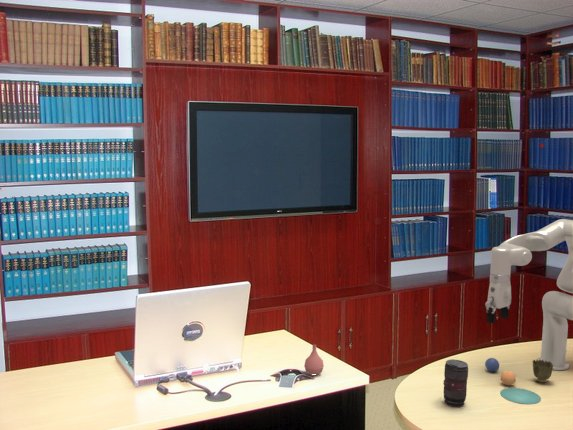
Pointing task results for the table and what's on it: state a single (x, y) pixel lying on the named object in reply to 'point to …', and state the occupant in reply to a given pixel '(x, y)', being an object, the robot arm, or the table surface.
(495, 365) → the blue ball
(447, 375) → the camera lens
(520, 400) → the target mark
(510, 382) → the object ball
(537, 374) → the cup
